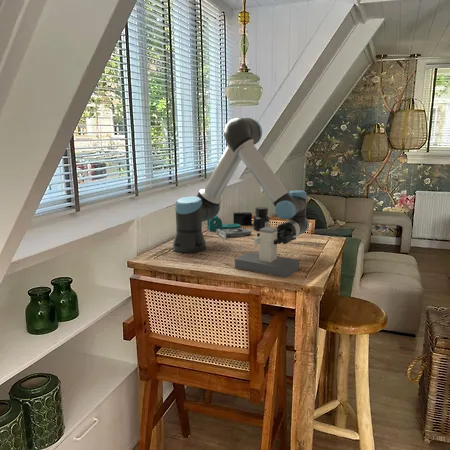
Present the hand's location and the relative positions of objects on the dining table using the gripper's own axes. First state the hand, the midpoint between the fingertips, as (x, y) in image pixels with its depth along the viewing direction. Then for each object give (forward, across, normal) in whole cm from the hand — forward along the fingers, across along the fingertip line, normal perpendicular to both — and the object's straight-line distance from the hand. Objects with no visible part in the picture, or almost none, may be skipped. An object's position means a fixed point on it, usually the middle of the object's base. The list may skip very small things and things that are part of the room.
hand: (262, 243), depth 161 cm
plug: (-5, 0, -10) cm, 11 cm away
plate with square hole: (-5, 0, -12) cm, 13 cm away
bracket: (-57, +53, -13) cm, 79 cm away
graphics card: (-48, +40, -13) cm, 64 cm away
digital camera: (-72, +49, -13) cm, 88 cm away
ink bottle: (-67, +35, -13) cm, 77 cm away
